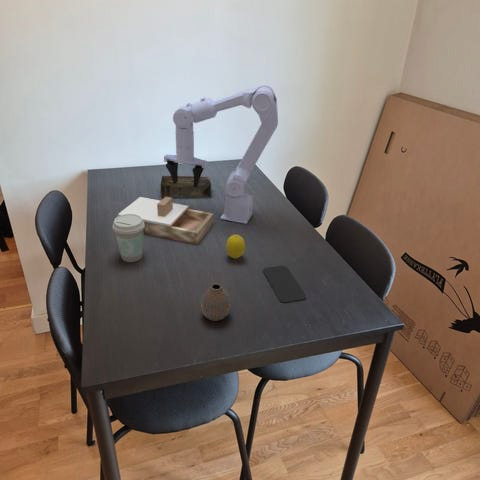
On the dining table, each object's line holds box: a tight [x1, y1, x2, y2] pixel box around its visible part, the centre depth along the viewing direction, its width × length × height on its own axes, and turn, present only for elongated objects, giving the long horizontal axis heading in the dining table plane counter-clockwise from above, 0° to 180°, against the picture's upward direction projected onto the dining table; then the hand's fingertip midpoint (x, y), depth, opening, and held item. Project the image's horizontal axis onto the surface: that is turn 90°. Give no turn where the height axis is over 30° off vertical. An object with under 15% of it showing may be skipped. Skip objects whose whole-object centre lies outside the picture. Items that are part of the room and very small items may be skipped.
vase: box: [200, 283, 231, 322], centre depth 91 cm, size 7×7×9 cm
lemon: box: [225, 233, 246, 259], centre depth 112 cm, size 6×6×8 cm
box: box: [143, 208, 214, 245], centre depth 126 cm, size 18×14×4 cm
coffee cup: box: [112, 214, 145, 263], centre depth 109 cm, size 8×9×12 cm
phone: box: [262, 265, 307, 304], centre depth 105 cm, size 7×1×15 cm
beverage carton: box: [160, 175, 212, 199], centre depth 149 cm, size 8×19×7 cm, turn 97°
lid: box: [117, 196, 189, 227], centre depth 126 cm, size 18×14×5 cm
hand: (185, 184), depth 133 cm, fingers open, 7 cm apart
